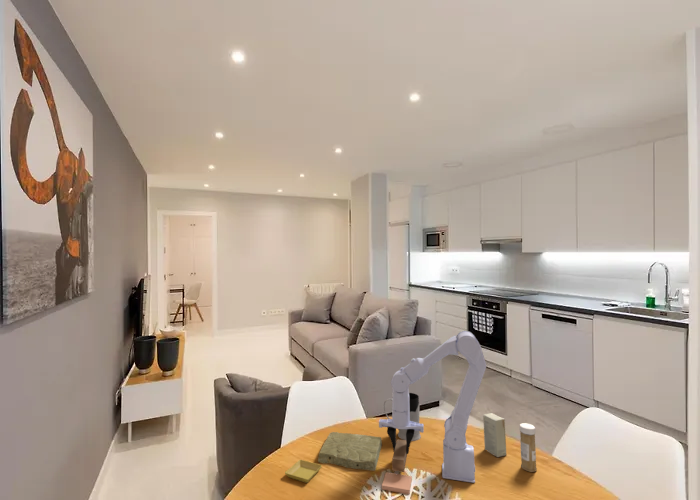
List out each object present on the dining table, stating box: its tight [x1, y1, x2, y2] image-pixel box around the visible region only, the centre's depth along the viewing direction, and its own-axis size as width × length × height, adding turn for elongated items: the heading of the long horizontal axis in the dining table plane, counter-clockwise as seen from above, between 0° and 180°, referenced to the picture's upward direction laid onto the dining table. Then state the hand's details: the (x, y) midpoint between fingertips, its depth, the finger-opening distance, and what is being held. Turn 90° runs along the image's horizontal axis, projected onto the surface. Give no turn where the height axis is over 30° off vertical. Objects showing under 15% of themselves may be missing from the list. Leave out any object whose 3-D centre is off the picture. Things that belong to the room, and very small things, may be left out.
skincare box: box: [482, 412, 507, 458], centre depth 121 cm, size 6×4×12 cm
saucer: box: [284, 459, 323, 484], centre depth 107 cm, size 9×9×2 cm
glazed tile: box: [381, 471, 413, 495], centre depth 102 cm, size 8×2×7 cm
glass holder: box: [383, 392, 422, 442], centre depth 133 cm, size 9×14×15 cm, turn 88°
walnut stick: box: [391, 438, 408, 473], centre depth 110 cm, size 4×12×4 cm, turn 165°
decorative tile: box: [317, 431, 383, 472], centre depth 120 cm, size 19×20×4 cm
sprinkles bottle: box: [519, 422, 538, 473], centre depth 111 cm, size 5×5×13 cm
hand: (401, 451), depth 112 cm, fingers closed on walnut stick, 3 cm apart
